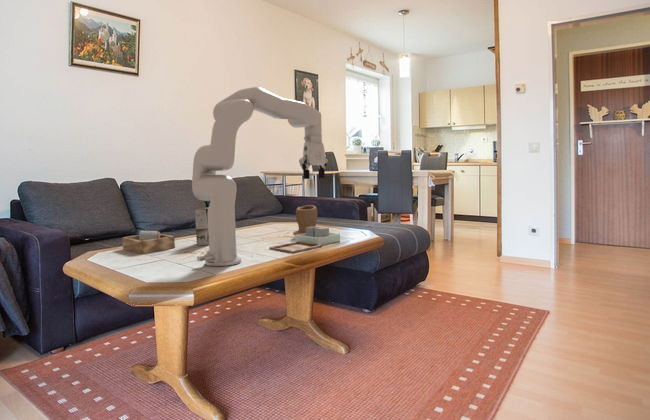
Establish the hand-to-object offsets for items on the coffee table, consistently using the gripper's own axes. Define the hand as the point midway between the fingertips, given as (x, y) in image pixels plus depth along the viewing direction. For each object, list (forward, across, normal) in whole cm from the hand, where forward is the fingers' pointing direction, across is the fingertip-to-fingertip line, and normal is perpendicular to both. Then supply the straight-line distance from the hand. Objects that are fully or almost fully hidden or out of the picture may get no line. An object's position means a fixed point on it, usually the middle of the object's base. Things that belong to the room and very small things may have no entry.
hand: (314, 178), depth 196 cm
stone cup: (+29, +8, +12) cm, 32 cm away
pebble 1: (+27, -4, -8) cm, 29 cm away
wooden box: (+28, -56, +46) cm, 78 cm away
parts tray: (+28, -20, -8) cm, 36 cm away
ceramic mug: (+29, -54, +48) cm, 78 cm away
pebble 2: (+27, -4, -2) cm, 28 cm away
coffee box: (+28, -34, +36) cm, 57 cm away
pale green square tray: (+28, -4, -5) cm, 29 cm away
